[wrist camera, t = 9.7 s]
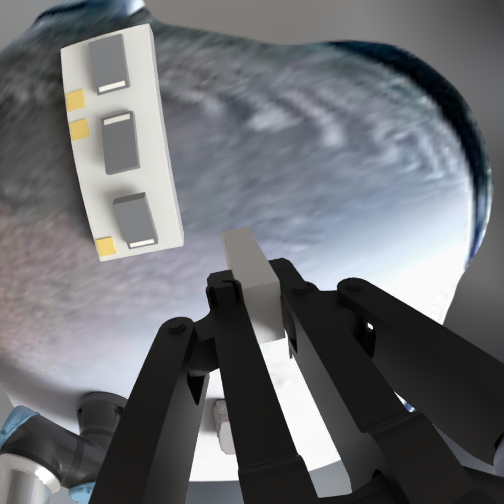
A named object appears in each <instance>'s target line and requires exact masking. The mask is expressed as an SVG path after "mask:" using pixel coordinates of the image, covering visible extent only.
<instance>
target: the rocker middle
mask: <svg viewBox="0 0 504 504" xmlns="http://www.w3.org/2000/svg"><path fill="white" fill-rule="evenodd" d="M101 126H102V140H103V152H104V162H105V172H106V174H108V175H113V174H117V173H121V172H125V171H130V170H134V169H139V168H141V167H140V159H139V150H138V142H137V132H136V122H135V114H134V112H133V111H128V112H124V113H120V114H116V115H112V116H108V117H104V118H101Z"/></svg>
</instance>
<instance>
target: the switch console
mask: <svg viewBox="0 0 504 504" xmlns="http://www.w3.org/2000/svg"><path fill="white" fill-rule="evenodd" d="M117 34H123V39H124V46H125V53H126V60H127V66H128V73H129V79H130V85H131V86H130V87H129V88H125V89H121V90H117V91H113V92H110V93H106V94H102V95H99V96H97V91H96V86H95V80H94V75H93V69H92V64H91V57H90V51H89V45H88V43H89V42H93V41H96V40H99V39H103V38H106V37H110V36H113V35H117ZM61 61H62V74H63V84H64V94H65V102H66V110H67V117H68V124H69V131H70V137H71V143H72V148H73V154H74V159H75V164H76V169H77V174H78V178H79V183H80V187H81V192H82V196H83V200H84V204H85V208H86V212H87V216H88V220H89V224H90V227H91V231H92V234H93V238H94V241H95V245H96V248H97V252H98V255H99V258H100V261H106V260H112V259H117V258H122V257H127V256H132V255H137V254H142V253H147V252H153V251H158V250H163V249H168V248H174V247H179V246H183V240H184V232H183V227H182V222H181V217H180V212H179V207H178V201H177V196H176V191H175V185H174V180H173V174H172V168H171V163H170V157H169V151H168V144H167V138H166V132H165V125H164V118H163V112H162V105H161V97H160V90H159V82H158V74H157V66H156V57H155V48H154V38H153V33H152V30H151V28H150V25H149V24H144V25H140V26H135V27H131V28H127V29H123V30H119V31H115V32H112V33H108V34H105V35H101V36H98V37H94V38H91V39H88V40H85V41H82V42H79V43H76V44H73V45H70V46H68V47H65V48H62V49H61ZM128 111H133V112H134V114H135V122H136V132H137V142H138V150H139V159H140V167H141V168H139V169H134V170H130V171H125V172H121V173H117V174H113V175H108V174H106V172H105V162H104V152H103V140H102V126H101V118H104V117H108V116H112V115H116V114H120V113H124V112H128ZM142 192H145V193H146V196H147V200H148V204H149V207H150V211H151V214H152V218H153V221H154V224H155V228H156V231H157V235H158V244H155V245H149V246H144V247H139V248H134V249H129V248H128V246H127V243H126V241H125V238H124V235H123V233H122V230H121V227H120V225H119V222H118V219H117V216H116V213H115V211H114V208H113V201H114V199H115V198H119V197H124V196H128V195H133V194H137V193H142Z"/></svg>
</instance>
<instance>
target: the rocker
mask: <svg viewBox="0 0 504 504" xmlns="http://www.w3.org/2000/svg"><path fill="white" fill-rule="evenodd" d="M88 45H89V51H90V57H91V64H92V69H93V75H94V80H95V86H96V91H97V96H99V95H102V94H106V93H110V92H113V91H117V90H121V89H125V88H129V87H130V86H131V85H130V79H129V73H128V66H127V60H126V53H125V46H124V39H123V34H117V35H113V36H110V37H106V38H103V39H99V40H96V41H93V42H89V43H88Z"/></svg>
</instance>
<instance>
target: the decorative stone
mask: <svg viewBox="0 0 504 504" xmlns="http://www.w3.org/2000/svg"><path fill="white" fill-rule="evenodd" d="M213 415H214V418H215V426H216V431H217V437H218V438H219V443H220V447H221V450H222V451H224V452H225V454H230V455H231V454H236V453H235V448H234V443H233V438H232V433H231V428H230V423H229V418H228V413H227V407H226V402H225V400H217V401H216V404H214V407H213Z"/></svg>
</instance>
